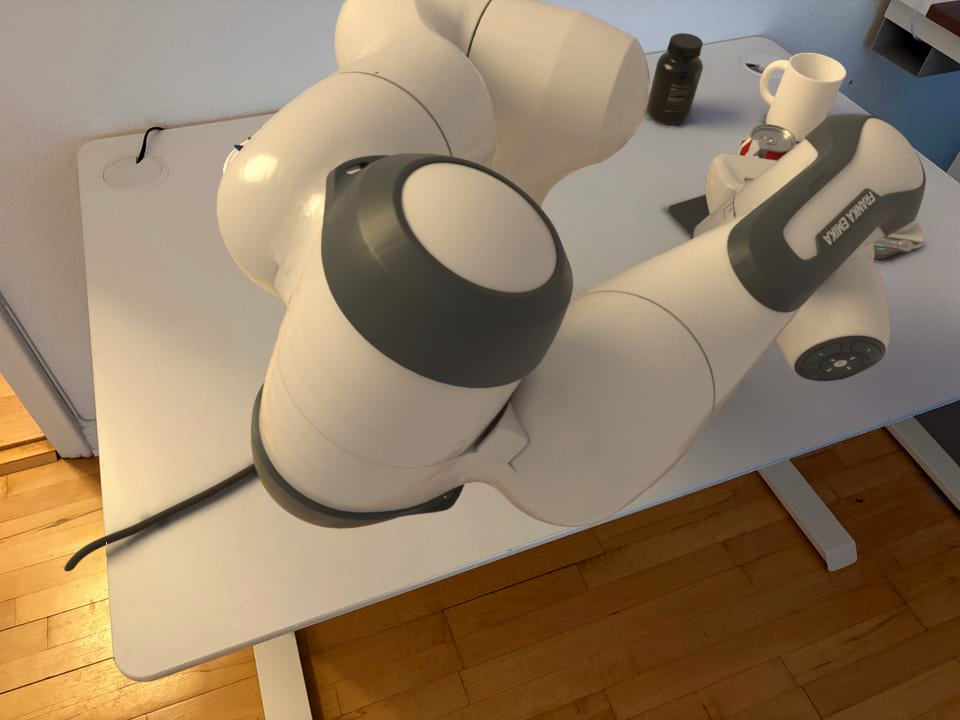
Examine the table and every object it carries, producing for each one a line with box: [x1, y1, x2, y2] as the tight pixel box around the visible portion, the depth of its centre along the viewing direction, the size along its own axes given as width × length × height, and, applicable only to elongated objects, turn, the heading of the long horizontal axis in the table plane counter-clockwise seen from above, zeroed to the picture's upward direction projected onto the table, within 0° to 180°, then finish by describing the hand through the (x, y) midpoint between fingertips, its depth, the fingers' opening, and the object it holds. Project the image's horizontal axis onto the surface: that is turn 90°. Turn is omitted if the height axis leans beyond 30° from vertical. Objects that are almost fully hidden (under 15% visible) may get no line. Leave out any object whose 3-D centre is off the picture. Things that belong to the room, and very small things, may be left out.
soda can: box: [736, 123, 797, 161], centre depth 94 cm, size 7×7×12 cm
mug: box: [759, 52, 847, 143], centre depth 111 cm, size 12×8×10 cm
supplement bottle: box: [646, 32, 704, 125], centre depth 110 cm, size 7×7×12 cm
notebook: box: [667, 194, 710, 236], centre depth 98 cm, size 12×10×1 cm
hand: (801, 152), depth 77 cm, fingers open, 8 cm apart
